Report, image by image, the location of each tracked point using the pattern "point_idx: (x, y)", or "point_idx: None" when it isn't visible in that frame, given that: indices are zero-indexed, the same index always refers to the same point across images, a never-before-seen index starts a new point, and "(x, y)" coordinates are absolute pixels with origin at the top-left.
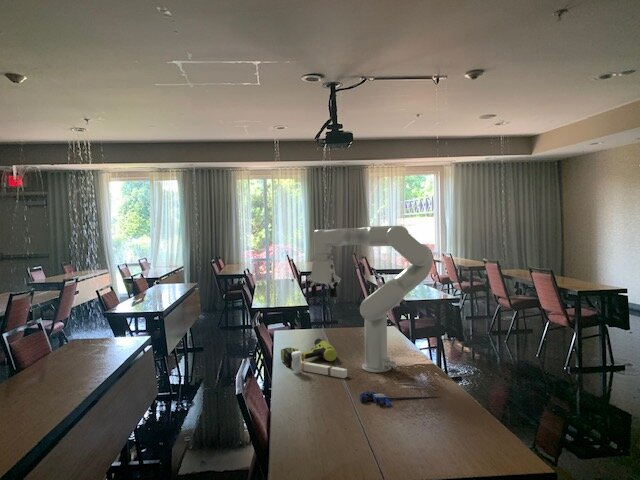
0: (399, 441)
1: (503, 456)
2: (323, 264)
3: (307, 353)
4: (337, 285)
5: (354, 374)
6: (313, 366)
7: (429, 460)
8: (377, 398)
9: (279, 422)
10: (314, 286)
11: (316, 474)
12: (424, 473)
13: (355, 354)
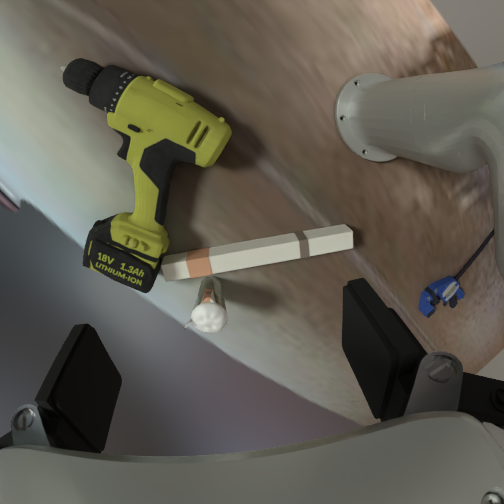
0: (473, 348)
1: None
2: None
3: (154, 211)
4: (479, 381)
5: (353, 199)
6: (247, 265)
7: (491, 350)
8: (448, 299)
9: (345, 411)
10: (73, 437)
11: None
12: (486, 364)
13: (234, 29)
